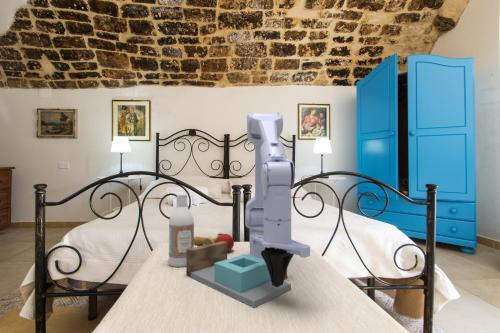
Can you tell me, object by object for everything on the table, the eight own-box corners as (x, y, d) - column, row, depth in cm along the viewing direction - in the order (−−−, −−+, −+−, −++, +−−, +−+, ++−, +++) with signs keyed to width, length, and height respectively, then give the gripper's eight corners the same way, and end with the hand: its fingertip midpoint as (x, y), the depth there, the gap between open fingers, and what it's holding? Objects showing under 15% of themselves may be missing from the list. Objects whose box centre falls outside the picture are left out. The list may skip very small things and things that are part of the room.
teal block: (245, 269, 71) (245, 254, 71) (272, 279, 65) (272, 262, 65) (214, 280, 64) (214, 263, 64) (241, 292, 58) (241, 272, 58)
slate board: (222, 264, 79) (222, 260, 79) (291, 289, 62) (290, 284, 62) (186, 275, 70) (186, 270, 71) (253, 307, 54) (253, 301, 54)
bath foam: (172, 269, 75) (172, 195, 75) (166, 262, 81) (167, 193, 81) (196, 265, 78) (197, 194, 79) (189, 258, 84) (190, 192, 85)
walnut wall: (222, 264, 79) (222, 241, 79) (227, 265, 78) (227, 242, 78) (186, 275, 70) (186, 249, 71) (190, 277, 69) (190, 250, 69)
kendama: (186, 250, 98) (222, 253, 86) (187, 232, 99) (222, 232, 88) (203, 250, 103) (238, 252, 92) (204, 232, 105) (239, 232, 94)
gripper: (239, 217, 60) (239, 280, 59) (294, 226, 50) (294, 302, 49) (261, 213, 65) (261, 272, 64) (315, 221, 55) (316, 290, 54)
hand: (277, 284), depth 57 cm, fingers closed
